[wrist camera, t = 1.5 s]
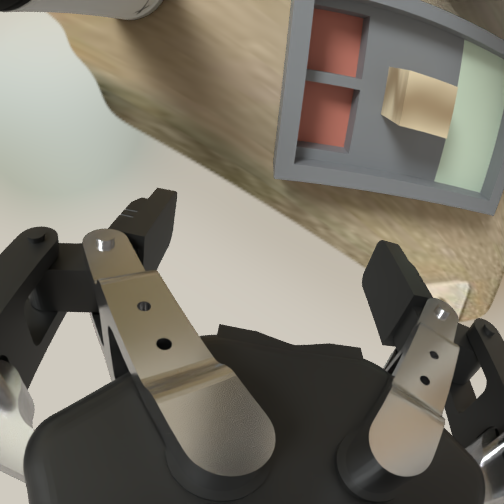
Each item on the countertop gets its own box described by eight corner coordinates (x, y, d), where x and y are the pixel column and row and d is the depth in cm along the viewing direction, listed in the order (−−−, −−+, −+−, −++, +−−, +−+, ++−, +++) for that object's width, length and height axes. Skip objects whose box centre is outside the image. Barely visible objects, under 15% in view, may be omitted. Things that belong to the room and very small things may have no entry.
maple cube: (389, 66, 22) (409, 70, 19) (433, 80, 22) (457, 87, 19) (380, 114, 25) (399, 125, 21) (424, 125, 25) (446, 138, 21)
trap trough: (293, -19, 21) (297, -31, 17) (508, 54, 21) (534, 59, 17) (273, 161, 31) (273, 178, 27) (474, 197, 31) (493, 215, 27)
